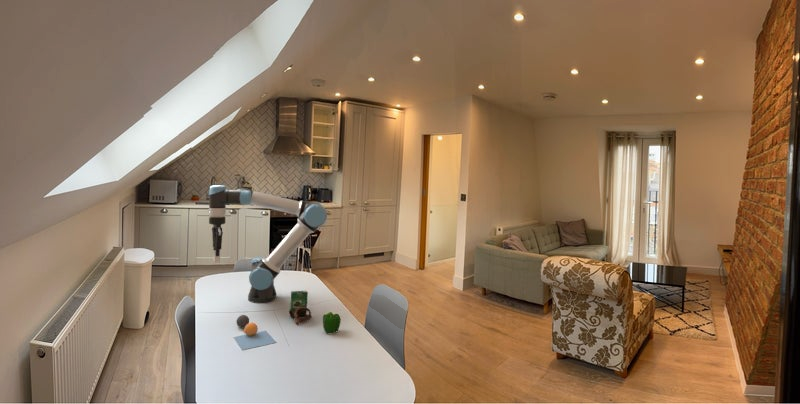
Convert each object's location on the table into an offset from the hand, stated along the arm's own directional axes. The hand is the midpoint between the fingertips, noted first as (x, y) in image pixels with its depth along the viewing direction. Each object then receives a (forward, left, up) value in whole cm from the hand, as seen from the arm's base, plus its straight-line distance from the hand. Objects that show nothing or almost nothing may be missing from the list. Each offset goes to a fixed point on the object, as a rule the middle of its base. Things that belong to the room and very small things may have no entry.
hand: (216, 262), depth 203 cm
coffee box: (-32, +30, -25) cm, 50 cm away
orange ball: (-6, +40, -22) cm, 46 cm away
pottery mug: (-30, +36, -25) cm, 53 cm away
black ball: (-5, +30, -22) cm, 37 cm away
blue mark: (-6, +46, -24) cm, 52 cm away
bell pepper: (-38, +54, -25) cm, 70 cm away
